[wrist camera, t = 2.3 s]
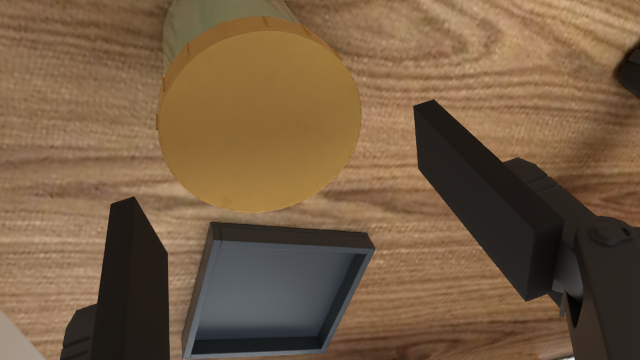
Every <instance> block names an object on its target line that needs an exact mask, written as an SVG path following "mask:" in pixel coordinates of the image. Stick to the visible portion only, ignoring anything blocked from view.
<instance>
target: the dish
mask: <svg viewBox="0 0 640 360" xmlns="http://www.w3.org/2000/svg"><path fill="white" fill-rule="evenodd" d="M374 251H375V247H374V245H373V243H372V241H371V240H370V238H369V236H368V234H367V233H355V232H341V231H327V230H313V229H299V228H284V227H270V226H256V225H242V224H228V223H213V222H211V223H210V227H209V231H208V235H207V239H206V243H205V247H204V251H203V255H202V259H201V263H200V267H199V271H198V275H197V279H196V283H195V287H194V291H193V295H192V299H191V303H190V307H189V311H188V315H187V319H186V323H185V327H184V331H183V335H182V339H181V343H182V359H189V358H190V359H202V358H224V357H246V356H268V355H290V354H312V353H325V352H326V350H327V348H328V346H329V344H330V342H331V340H332V338H333V336H334V333H335V331H336V329H337V327H338V325H339V323H340V321H341V319H342V317H343V315H344V313H345V311H346V309H347V307H348V305H349V303H350V301H351V299H352V297H353V294H354V292H355V290H356V288H357V286H358V284H359V282H360V280H361V278H362V276H363V274H364V272H365V270H366V268H367V266H368V264H369V262H370V260H371V258H372V256H373V253H374Z"/></svg>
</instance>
